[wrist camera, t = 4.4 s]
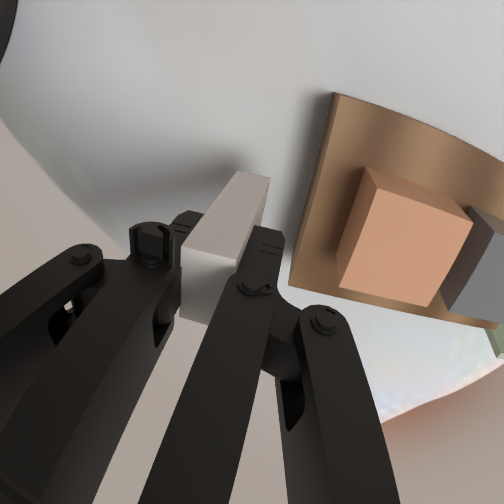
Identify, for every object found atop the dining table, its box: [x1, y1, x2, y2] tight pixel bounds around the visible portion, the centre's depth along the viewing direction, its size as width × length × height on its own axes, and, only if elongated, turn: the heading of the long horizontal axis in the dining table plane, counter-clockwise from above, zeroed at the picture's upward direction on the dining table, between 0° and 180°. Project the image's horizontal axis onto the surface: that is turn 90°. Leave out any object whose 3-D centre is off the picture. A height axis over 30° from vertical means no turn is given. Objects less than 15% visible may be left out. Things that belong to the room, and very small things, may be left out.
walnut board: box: [288, 92, 504, 330], centre depth 16 cm, size 17×11×4 cm, turn 80°
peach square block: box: [336, 167, 473, 307], centre depth 13 cm, size 5×5×3 cm
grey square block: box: [439, 205, 504, 324], centre depth 13 cm, size 5×5×3 cm
